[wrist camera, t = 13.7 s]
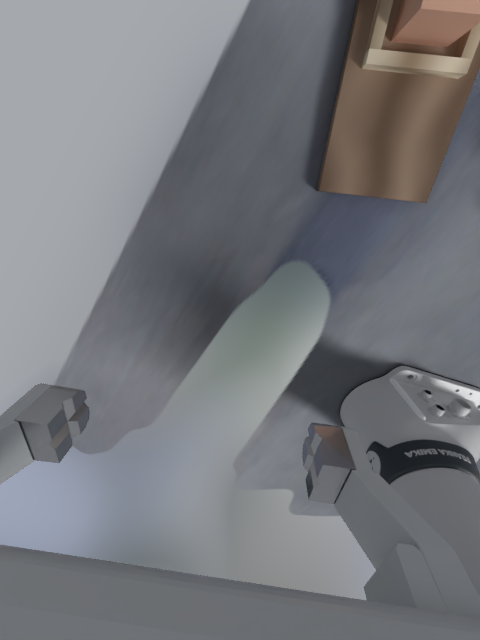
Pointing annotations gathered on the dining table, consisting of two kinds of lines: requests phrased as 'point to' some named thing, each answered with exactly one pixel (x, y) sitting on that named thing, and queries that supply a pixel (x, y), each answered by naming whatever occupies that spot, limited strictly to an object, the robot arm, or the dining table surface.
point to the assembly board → (394, 108)
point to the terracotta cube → (435, 21)
